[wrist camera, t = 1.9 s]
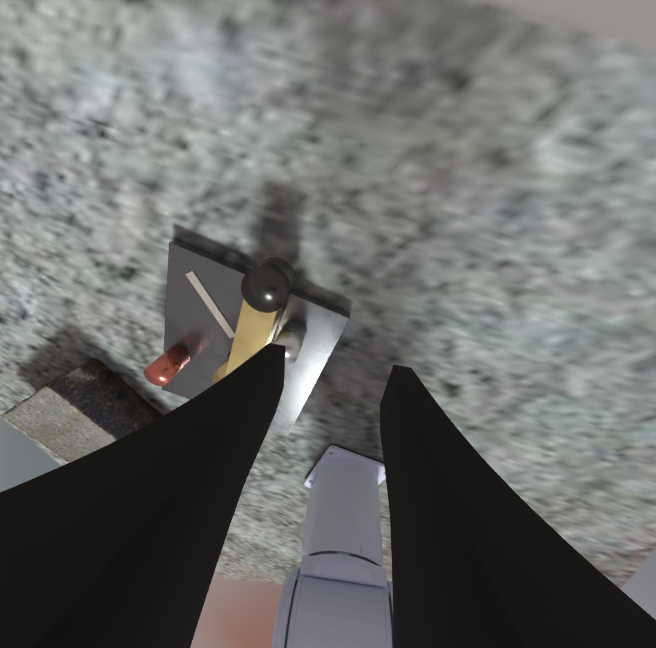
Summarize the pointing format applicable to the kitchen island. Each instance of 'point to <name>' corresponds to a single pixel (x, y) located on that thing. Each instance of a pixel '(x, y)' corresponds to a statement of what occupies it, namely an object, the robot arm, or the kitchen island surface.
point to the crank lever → (259, 311)
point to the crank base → (220, 327)
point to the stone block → (82, 411)
